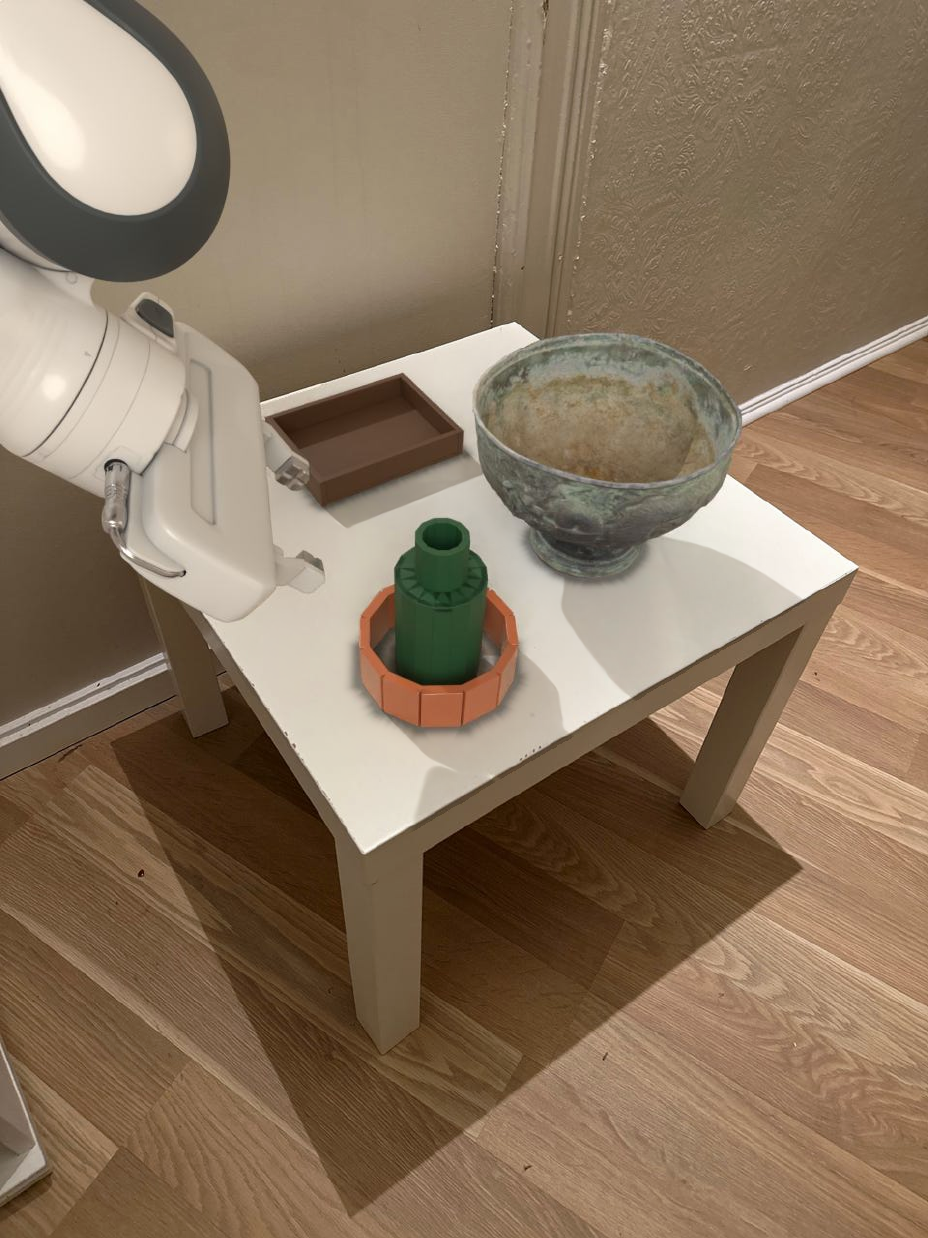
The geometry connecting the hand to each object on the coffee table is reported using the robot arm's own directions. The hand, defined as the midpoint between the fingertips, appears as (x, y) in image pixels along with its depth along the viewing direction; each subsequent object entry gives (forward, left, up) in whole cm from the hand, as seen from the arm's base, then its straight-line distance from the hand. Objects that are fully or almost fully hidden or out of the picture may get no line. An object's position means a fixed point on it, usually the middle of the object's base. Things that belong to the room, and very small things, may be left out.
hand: (310, 526), depth 57 cm
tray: (+3, +27, -15) cm, 31 cm away
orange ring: (+8, 0, -15) cm, 17 cm away
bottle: (+8, 0, -15) cm, 17 cm away
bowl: (+22, +14, -15) cm, 29 cm away
